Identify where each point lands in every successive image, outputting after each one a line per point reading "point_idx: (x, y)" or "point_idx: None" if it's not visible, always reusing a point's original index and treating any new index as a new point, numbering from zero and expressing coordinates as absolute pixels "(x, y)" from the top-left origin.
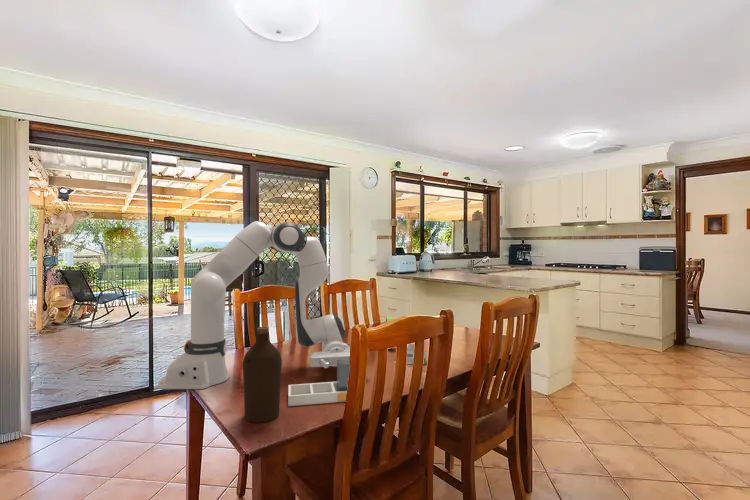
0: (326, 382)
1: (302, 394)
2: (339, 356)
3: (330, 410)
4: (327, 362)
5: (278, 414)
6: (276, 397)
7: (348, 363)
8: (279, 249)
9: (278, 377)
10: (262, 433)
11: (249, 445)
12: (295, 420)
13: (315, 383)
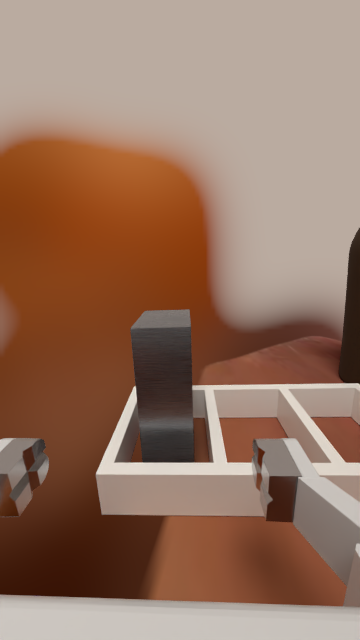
0: (251, 471)
1: (315, 387)
2: (73, 598)
3: (219, 384)
4: (269, 451)
5: (341, 376)
6: (343, 329)
7: (150, 311)
8: None
9: (347, 284)
10: (326, 350)
11: (324, 338)
12: (288, 366)
13: (315, 468)
